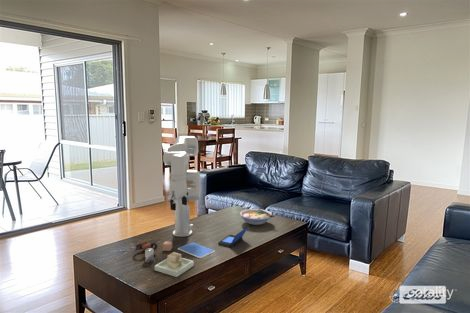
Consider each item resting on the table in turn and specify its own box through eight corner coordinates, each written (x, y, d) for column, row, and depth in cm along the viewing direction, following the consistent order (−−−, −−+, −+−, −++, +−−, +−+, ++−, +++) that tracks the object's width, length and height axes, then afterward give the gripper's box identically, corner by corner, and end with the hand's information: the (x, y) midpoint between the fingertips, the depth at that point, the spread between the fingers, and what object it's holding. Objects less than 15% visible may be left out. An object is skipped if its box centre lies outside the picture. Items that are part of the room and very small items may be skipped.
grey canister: (149, 258, 181) (149, 247, 181) (155, 259, 179) (155, 249, 178) (143, 261, 178) (143, 250, 177) (149, 263, 175) (149, 252, 175)
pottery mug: (138, 260, 180) (133, 245, 181) (139, 260, 188) (134, 246, 190) (159, 251, 183) (155, 237, 185) (159, 252, 192) (155, 238, 194)
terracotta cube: (165, 247, 195) (165, 241, 194) (172, 248, 194) (172, 241, 194) (163, 250, 191) (163, 244, 191) (170, 251, 191) (169, 244, 190)
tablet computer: (176, 249, 193) (176, 247, 193) (193, 243, 203) (193, 241, 203) (199, 259, 181) (199, 257, 181) (215, 252, 190) (215, 250, 190)
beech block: (173, 262, 174) (173, 252, 173) (181, 265, 171) (181, 254, 170) (167, 266, 169) (167, 255, 168) (175, 269, 167) (174, 257, 166)
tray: (172, 259, 180) (172, 255, 179) (193, 265, 173) (193, 260, 173) (154, 270, 168) (154, 265, 167) (176, 277, 161) (176, 272, 161)
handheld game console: (229, 236, 214) (229, 222, 212) (248, 240, 207) (248, 226, 206) (217, 245, 200) (217, 230, 199) (236, 249, 194) (236, 234, 192)
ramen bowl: (234, 220, 245) (234, 209, 244) (261, 216, 254) (262, 206, 253) (248, 231, 222) (248, 219, 221) (278, 227, 231) (278, 215, 230)
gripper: (182, 173, 189) (183, 201, 192) (162, 179, 174) (163, 210, 177) (193, 174, 185) (193, 204, 188) (173, 181, 170) (174, 213, 173)
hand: (178, 207), depth 183 cm, fingers open, 9 cm apart
